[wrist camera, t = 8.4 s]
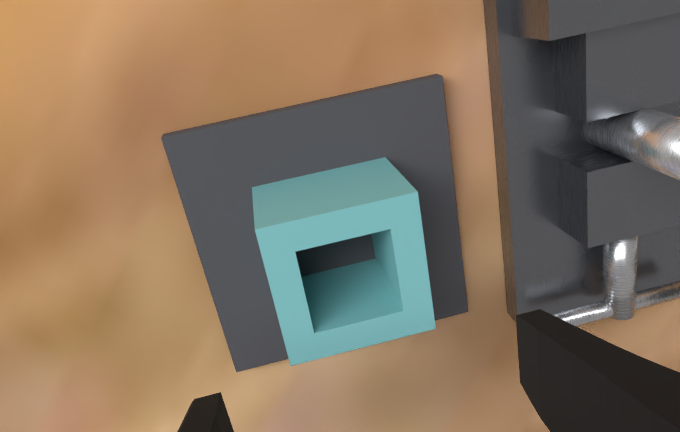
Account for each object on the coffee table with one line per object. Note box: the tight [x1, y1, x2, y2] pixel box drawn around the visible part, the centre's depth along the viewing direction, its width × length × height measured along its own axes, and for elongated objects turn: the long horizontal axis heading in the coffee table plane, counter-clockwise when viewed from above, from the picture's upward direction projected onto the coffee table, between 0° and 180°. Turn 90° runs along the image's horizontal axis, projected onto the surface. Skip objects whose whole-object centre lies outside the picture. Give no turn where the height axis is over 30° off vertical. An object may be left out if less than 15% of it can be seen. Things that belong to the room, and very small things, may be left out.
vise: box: [484, 0, 680, 326], centre depth 19 cm, size 16×8×6 cm, turn 11°
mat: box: [161, 74, 468, 372], centre depth 21 cm, size 10×10×1 cm
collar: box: [252, 157, 436, 366], centre depth 19 cm, size 5×5×4 cm
